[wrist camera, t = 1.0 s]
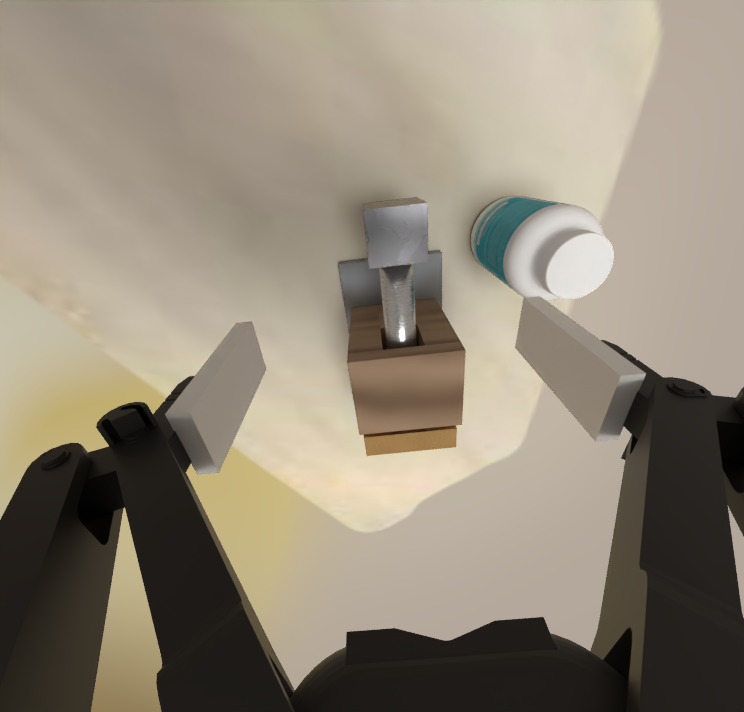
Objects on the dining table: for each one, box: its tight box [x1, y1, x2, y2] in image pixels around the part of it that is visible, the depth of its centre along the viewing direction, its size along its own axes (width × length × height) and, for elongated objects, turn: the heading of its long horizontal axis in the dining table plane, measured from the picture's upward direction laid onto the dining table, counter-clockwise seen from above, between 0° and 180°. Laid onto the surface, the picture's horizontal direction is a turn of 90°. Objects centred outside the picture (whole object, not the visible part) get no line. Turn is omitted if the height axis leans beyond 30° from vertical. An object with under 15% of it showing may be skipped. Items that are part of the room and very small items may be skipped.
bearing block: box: [338, 251, 465, 435], centre depth 35 cm, size 22×11×13 cm, turn 6°
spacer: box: [364, 425, 457, 456], centre depth 36 cm, size 2×9×9 cm, turn 96°
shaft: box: [363, 197, 428, 349], centre depth 30 cm, size 23×4×5 cm, turn 6°
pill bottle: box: [471, 196, 614, 301], centre depth 28 cm, size 8×7×14 cm
